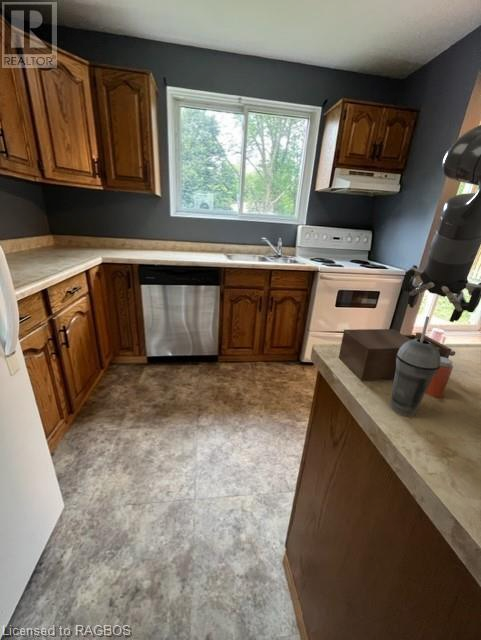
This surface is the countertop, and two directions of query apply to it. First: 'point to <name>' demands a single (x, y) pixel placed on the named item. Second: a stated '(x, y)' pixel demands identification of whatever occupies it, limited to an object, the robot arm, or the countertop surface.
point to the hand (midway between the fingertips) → (431, 312)
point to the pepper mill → (440, 378)
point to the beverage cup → (413, 374)
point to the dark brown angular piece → (442, 348)
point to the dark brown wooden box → (371, 352)
